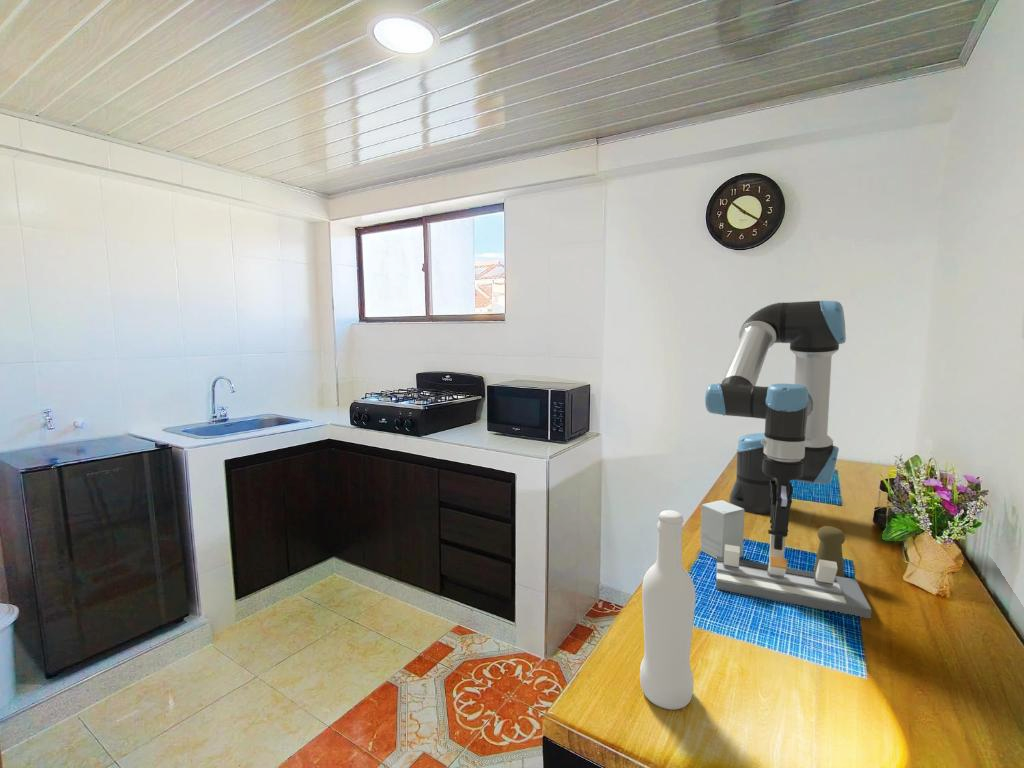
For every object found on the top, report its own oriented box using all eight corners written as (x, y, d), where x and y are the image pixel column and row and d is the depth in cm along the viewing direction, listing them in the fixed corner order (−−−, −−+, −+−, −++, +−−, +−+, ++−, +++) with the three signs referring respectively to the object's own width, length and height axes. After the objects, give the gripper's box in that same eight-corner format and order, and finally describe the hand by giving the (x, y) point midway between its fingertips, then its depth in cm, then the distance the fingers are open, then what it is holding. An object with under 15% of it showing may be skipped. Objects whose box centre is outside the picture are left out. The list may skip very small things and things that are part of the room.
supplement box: (743, 557, 117) (746, 508, 116) (721, 563, 114) (723, 513, 113) (720, 544, 124) (722, 499, 122) (699, 550, 121) (700, 503, 120)
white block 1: (723, 561, 109) (724, 544, 105) (738, 564, 107) (740, 546, 104) (723, 567, 107) (724, 550, 104) (738, 570, 106) (740, 552, 102)
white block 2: (814, 577, 101) (818, 559, 97) (831, 580, 100) (836, 562, 96) (814, 584, 100) (819, 565, 96) (832, 587, 99) (838, 568, 95)
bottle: (632, 675, 78) (635, 504, 74) (679, 671, 79) (684, 501, 75) (650, 715, 70) (654, 525, 66) (702, 710, 71) (709, 522, 67)
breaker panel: (716, 563, 114) (717, 553, 114) (854, 587, 103) (855, 577, 102) (716, 588, 103) (716, 578, 103) (870, 619, 92) (871, 607, 92)
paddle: (767, 568, 105) (770, 556, 100) (783, 571, 104) (787, 559, 99) (767, 575, 104) (770, 564, 99) (783, 578, 103) (787, 567, 98)
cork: (849, 581, 105) (853, 535, 104) (820, 578, 107) (823, 533, 105) (836, 567, 111) (840, 524, 110) (808, 565, 112) (811, 522, 111)
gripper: (760, 447, 106) (755, 544, 109) (765, 463, 94) (759, 572, 98) (799, 450, 103) (792, 550, 106) (808, 467, 91) (800, 579, 95)
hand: (776, 560), depth 102 cm, fingers closed
